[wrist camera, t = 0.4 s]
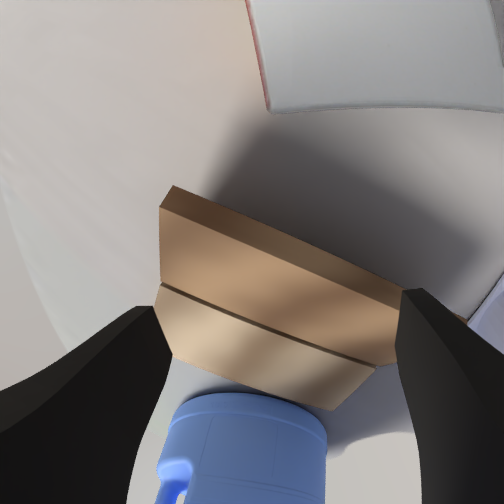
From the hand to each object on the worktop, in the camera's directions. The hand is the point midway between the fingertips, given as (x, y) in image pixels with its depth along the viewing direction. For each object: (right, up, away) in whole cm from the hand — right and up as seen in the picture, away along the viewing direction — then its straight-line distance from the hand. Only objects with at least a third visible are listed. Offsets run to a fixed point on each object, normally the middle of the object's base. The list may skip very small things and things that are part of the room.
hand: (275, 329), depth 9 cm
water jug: (-1, -16, +19) cm, 25 cm away
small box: (+3, +13, +4) cm, 14 cm away
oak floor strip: (0, -5, +13) cm, 14 cm away
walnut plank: (+3, 0, +8) cm, 8 cm away
